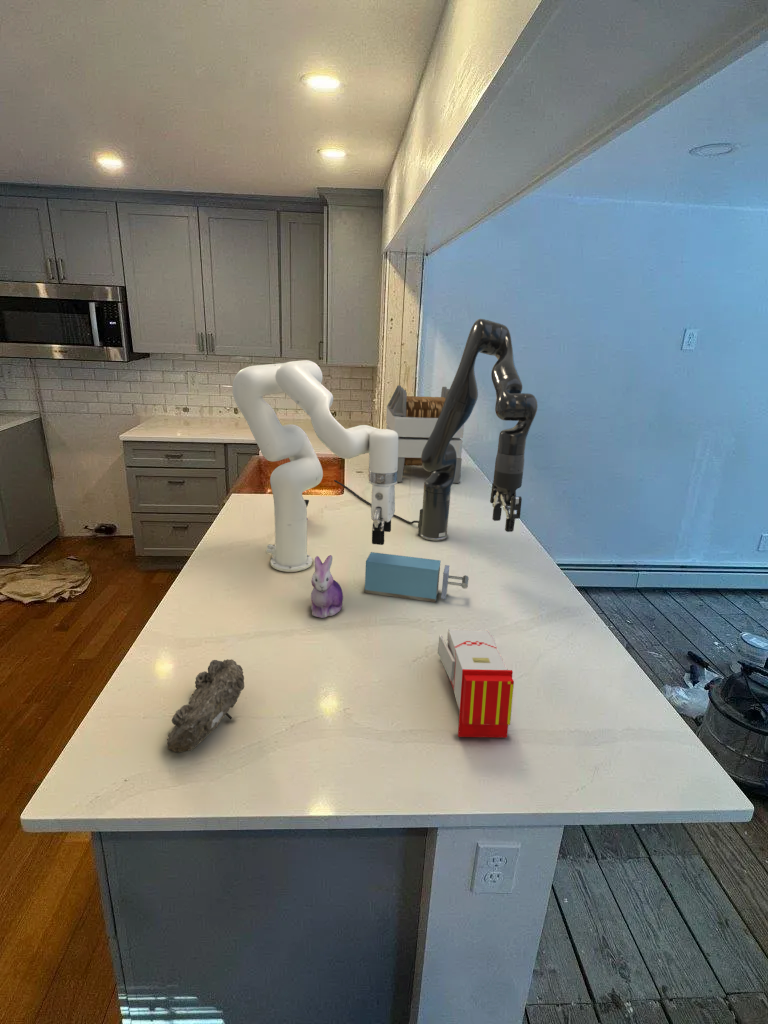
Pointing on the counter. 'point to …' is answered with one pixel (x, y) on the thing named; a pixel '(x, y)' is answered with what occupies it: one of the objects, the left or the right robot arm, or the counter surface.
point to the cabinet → (402, 576)
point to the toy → (478, 682)
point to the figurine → (325, 590)
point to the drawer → (445, 582)
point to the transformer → (417, 427)
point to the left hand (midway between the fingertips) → (381, 537)
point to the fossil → (206, 705)
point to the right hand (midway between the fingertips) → (502, 525)
